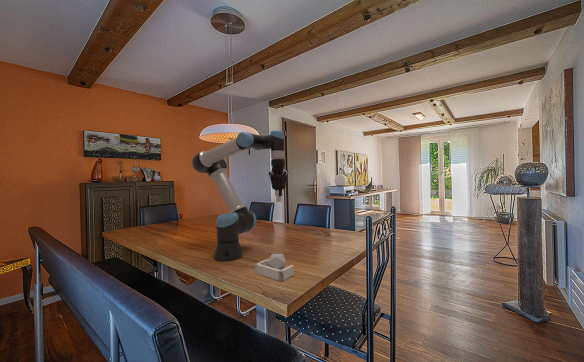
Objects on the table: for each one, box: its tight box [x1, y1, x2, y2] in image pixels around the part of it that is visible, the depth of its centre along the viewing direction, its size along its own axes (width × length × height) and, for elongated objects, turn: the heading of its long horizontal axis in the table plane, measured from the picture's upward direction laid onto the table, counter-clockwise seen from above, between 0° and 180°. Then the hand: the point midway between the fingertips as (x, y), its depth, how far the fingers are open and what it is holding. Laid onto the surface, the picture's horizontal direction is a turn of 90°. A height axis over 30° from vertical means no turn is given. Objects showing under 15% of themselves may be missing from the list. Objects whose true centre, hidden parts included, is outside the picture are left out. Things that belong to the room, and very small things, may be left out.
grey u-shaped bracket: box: [253, 258, 295, 282], centre depth 109 cm, size 16×8×4 cm, turn 51°
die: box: [267, 253, 287, 270], centre depth 112 cm, size 8×9×10 cm
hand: (278, 202), depth 135 cm, fingers closed
